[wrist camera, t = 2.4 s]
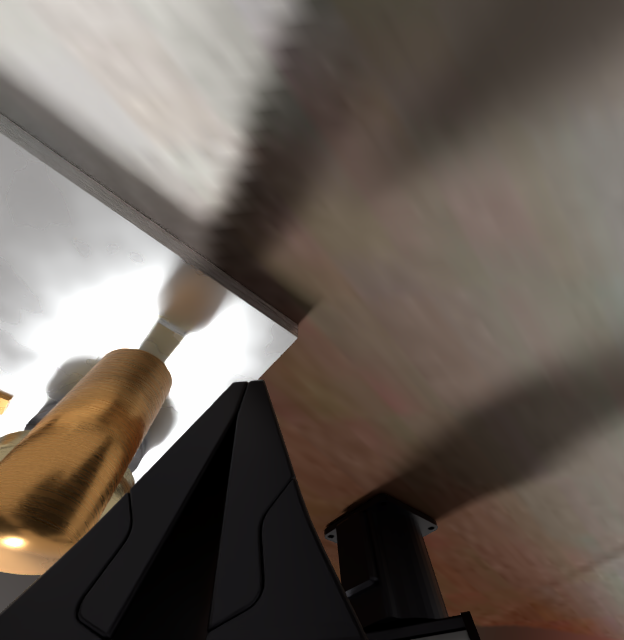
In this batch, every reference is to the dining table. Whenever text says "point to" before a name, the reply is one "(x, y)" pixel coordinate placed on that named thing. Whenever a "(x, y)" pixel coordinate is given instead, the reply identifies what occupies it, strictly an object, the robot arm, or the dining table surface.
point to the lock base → (112, 299)
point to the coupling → (76, 459)
